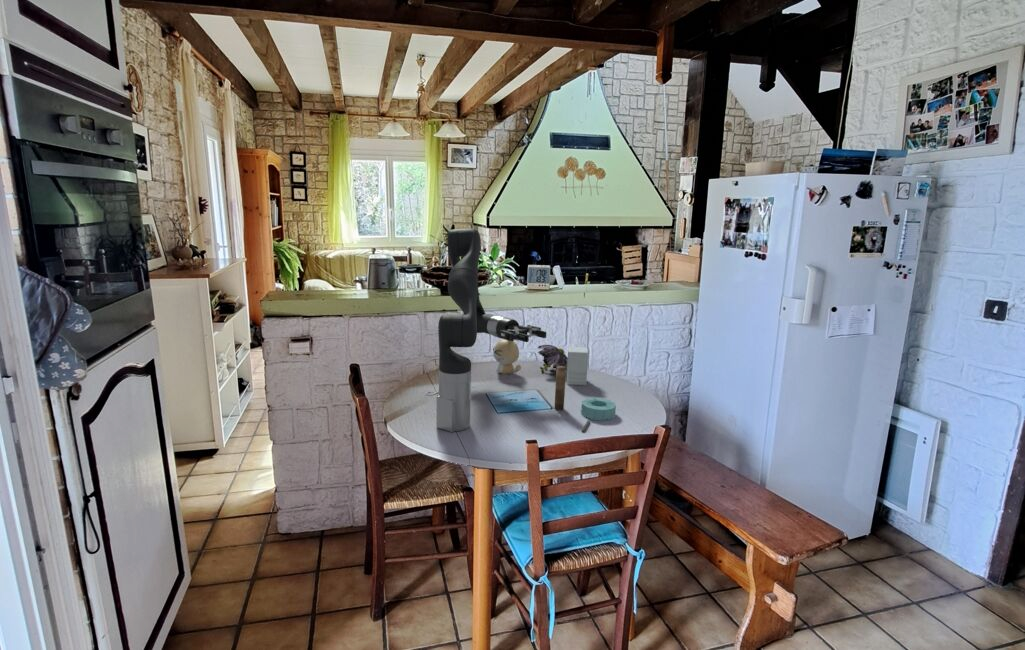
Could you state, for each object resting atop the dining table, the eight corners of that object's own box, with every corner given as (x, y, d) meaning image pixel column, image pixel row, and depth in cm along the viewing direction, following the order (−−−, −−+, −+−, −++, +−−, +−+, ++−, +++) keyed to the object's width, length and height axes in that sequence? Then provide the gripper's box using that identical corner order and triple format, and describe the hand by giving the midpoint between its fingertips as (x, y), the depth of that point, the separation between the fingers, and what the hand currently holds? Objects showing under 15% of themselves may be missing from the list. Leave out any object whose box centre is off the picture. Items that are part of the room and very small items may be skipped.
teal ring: (605, 423, 171) (606, 412, 170) (575, 414, 177) (576, 404, 176) (620, 413, 179) (620, 402, 178) (590, 405, 185) (591, 395, 184)
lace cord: (584, 432, 163) (584, 430, 163) (581, 431, 164) (581, 429, 163) (589, 422, 171) (590, 420, 170) (587, 422, 171) (587, 420, 171)
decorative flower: (570, 355, 209) (536, 338, 215) (556, 383, 210) (524, 365, 216) (581, 356, 222) (550, 340, 228) (569, 383, 223) (538, 366, 229)
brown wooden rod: (560, 411, 179) (563, 369, 176) (552, 408, 181) (554, 367, 178) (565, 408, 182) (567, 367, 179) (557, 406, 183) (559, 365, 180)
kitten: (489, 367, 224) (490, 330, 220) (514, 366, 225) (515, 330, 222) (495, 378, 209) (496, 340, 206) (521, 378, 211) (523, 339, 208)
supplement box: (585, 379, 212) (587, 347, 209) (586, 385, 205) (588, 352, 202) (566, 378, 213) (568, 346, 210) (566, 384, 205) (568, 351, 203)
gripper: (488, 320, 190) (522, 329, 178) (517, 314, 199) (551, 323, 188) (487, 341, 191) (521, 351, 180) (516, 335, 201) (550, 344, 190)
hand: (537, 337), depth 184 cm, fingers open, 8 cm apart
